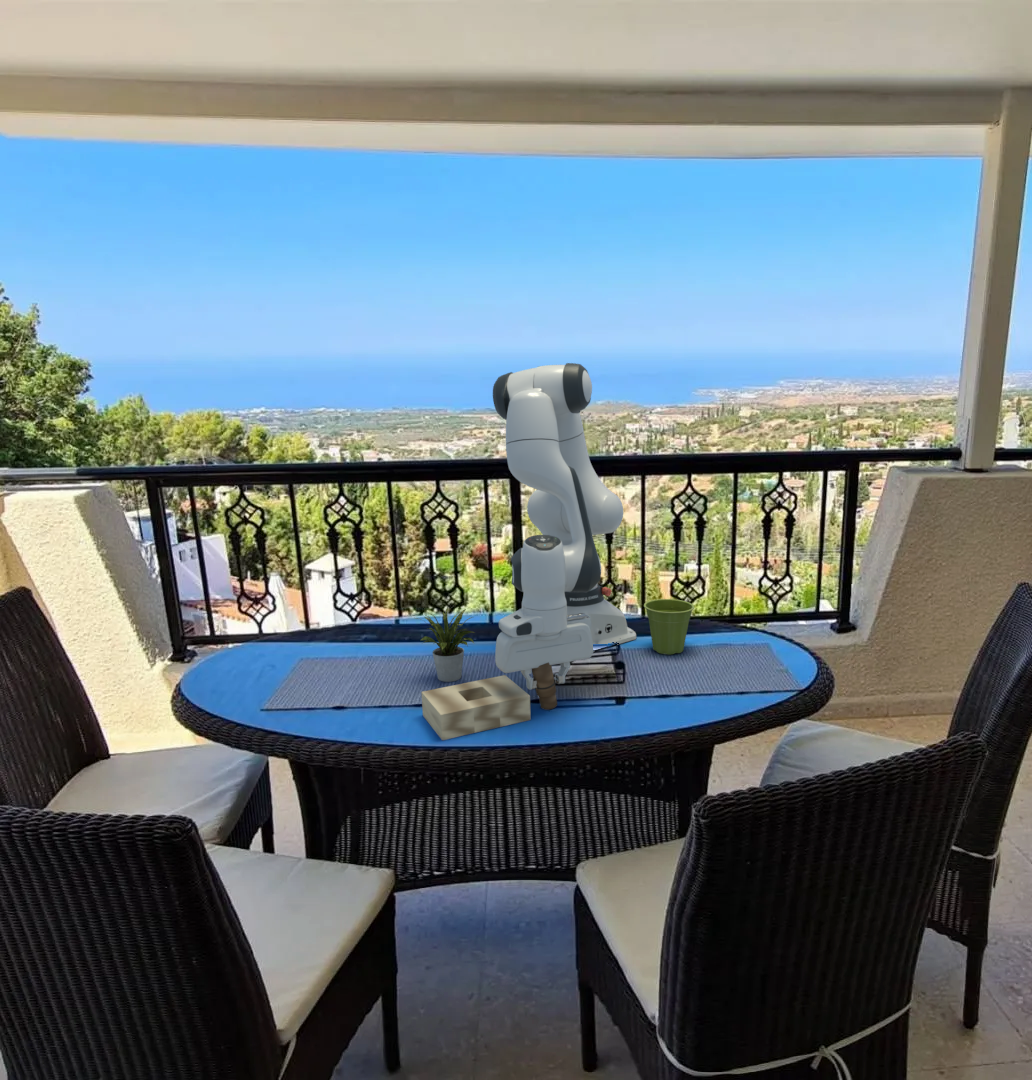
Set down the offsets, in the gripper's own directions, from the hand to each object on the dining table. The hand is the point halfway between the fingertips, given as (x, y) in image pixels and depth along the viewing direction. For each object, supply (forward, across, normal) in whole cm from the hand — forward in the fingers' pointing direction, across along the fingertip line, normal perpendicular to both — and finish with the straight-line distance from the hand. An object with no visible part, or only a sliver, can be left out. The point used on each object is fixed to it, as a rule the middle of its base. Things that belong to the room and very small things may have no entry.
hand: (545, 685), depth 145 cm
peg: (+4, -1, 0) cm, 4 cm away
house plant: (+5, +13, -24) cm, 28 cm away
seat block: (+5, +14, -2) cm, 15 cm away
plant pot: (+4, -41, -16) cm, 44 cm away
